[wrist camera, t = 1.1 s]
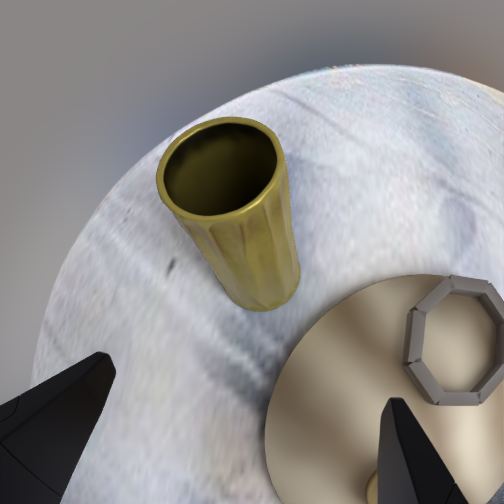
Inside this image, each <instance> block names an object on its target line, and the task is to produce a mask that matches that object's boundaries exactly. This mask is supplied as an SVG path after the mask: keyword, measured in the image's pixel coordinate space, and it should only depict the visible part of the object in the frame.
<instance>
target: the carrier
mask: <svg viewBox="0 0 504 504" xmlns="http://www.w3.org/2000/svg"><path fill="white" fill-rule="evenodd" d="M390 397H401V398H403V399H404V400H405V402H406V403H407V405H408V406H409V408H410V409H411V411H412V413H413V414H414V416H415V417H416V419H417V420H418V422H419V423H420V425H421V427H422V428H423V430H424V431H425V433H426V434H427V436H428V438H429V439H430V441H431V442H432V444H433V446H434V447H435V449H436V450H437V452H438V454H439V455H440V457H441V458H442V460H443V462H444V463H445V465H446V467H447V468H448V470H449V472H450V473H451V475H452V477H453V478H454V480H455V483H457V485H458V486H459V488H460V490H461V491H462V493H463V495H464V496H465V498H466V499H467V501H468V503H469V504H486V503H487V502H488V501H489V500H490V499H491V498H492V497H493V495H494V494H495V493H496V492H497V490H498V489H499V488H500V487H501V485H502V484H503V483H504V301H503V299H502V298H501V296H500V295H499V294H498V292H497V291H496V289H495V288H494V286H493V285H492V283H489V284H488V281H487V280H481V279H474V278H467V277H461V276H454V275H450V276H449V277H448V276H447V277H444V276H438V275H425V274H422V275H407V276H401V277H396V278H392V279H387V280H384V281H382V282H379V283H376V284H373V285H370V286H368V287H366V288H364V289H362V290H360V291H358V292H356V293H354V294H352V295H351V296H349V297H348V298H346V299H344V300H343V301H341V302H340V303H338V304H337V305H335V306H334V307H333V308H332V309H331V310H329V311H328V312H327V313H326V314H325V315H323V316H322V317H321V318H320V319H319V320H318V321H317V322H316V323H315V324H314V325H313V326H312V327H311V328H310V330H309V331H308V332H307V333H306V334H305V335H304V336H303V338H302V339H301V340H300V342H299V343H298V344H297V346H296V347H295V348H294V350H293V351H292V353H291V355H290V356H289V358H288V360H287V362H286V363H285V365H284V367H283V368H282V371H281V373H280V375H279V377H278V380H277V382H276V384H275V387H274V389H273V393H272V396H271V400H270V403H269V406H268V411H267V418H266V424H265V454H266V462H267V467H268V471H269V474H270V478H271V481H272V484H273V486H274V488H275V490H276V492H277V495H278V497H279V499H280V500H281V502H282V503H283V504H377V496H378V489H377V459H378V447H379V434H380V419H381V414H382V411H383V409H384V407H385V405H386V403H387V401H388V399H389V398H390Z"/></svg>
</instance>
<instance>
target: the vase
mask: <svg viewBox="0 0 504 504" xmlns="http://www.w3.org/2000/svg"><path fill="white" fill-rule="evenodd" d="M156 184H157V189H158V193H159V195H160V198H161V200H162V201H163V203H164V204H165V205H166V206H167V207H168V208H169V209H170V210H171V211H172V213H173V214H174V216H175V217H176V219H177V221H178V222H179V223H180V225H181V226H182V227H183V229H184V230H185V231H186V232H187V233H188V234H189V236H190V237H191V238H192V239H193V241H194V242H195V243H196V245H197V246H198V248H199V249H200V251H201V252H202V254H203V255H204V257H205V258H206V260H207V261H208V263H209V264H210V266H211V268H212V269H213V271H214V272H215V274H216V276H217V277H218V279H219V280H220V281H221V283H222V284H223V286H224V288H225V290H226V292H227V294H228V296H229V297H230V298H231V299H232V300H233V301H234V302H235V303H236V304H237V305H239V306H241V307H242V308H244V309H247V310H251V311H269V310H272V309H275V308H277V307H279V306H281V305H283V304H284V303H286V302H287V301H288V300H289V299H290V298H291V297H292V295H293V294H294V292H295V291H296V289H297V287H298V284H299V281H300V274H301V270H300V264H299V261H298V257H297V249H296V245H295V240H294V234H293V228H292V218H291V205H290V190H289V178H288V169H287V163H286V160H285V156H284V152H283V150H282V147H281V145H280V142H279V140H278V138H277V136H276V135H275V133H274V132H273V131H272V130H271V129H269V128H268V127H267V126H265V125H263V124H262V123H260V122H258V121H255V120H252V119H248V118H241V117H221V118H216V119H212V120H209V121H205V122H203V123H200V124H197V125H195V126H193V127H192V128H190V129H188V130H186V131H185V132H184V133H183V134H181V135H180V136H179V137H177V138H176V139H175V140H174V141H173V142H172V143H171V144H170V145H169V147H168V148H167V149H166V151H165V153H164V154H163V156H162V158H161V160H160V162H159V165H158V169H157V173H156Z"/></svg>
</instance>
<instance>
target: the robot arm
mask: <svg viewBox="0 0 504 504" xmlns="http://www.w3.org/2000/svg"><path fill="white" fill-rule="evenodd" d="M115 376H116V369H115V367H114V364H113V362H112V359H111V357H110V355H109V354H107V353H104V352H100V351H99V352H96V353H94V354H92V355H91V356H89V357H87V358H85V359H83V360H82V361H80V362H78V363H76V364H75V365H73V366H71V367H69V368H68V369H66V370H64V371H62V372H60V373H59V374H57V375H55V376H53V377H51V378H50V379H48V380H46V381H44V382H43V383H41V384H39V385H37V386H35V387H34V388H32V389H30V390H28V391H26V392H25V393H23V394H21V395H20V396H17V397H16V398H14V399H12V400H10V401H8V402H6V403H4V404H2V405H0V504H60V502H61V499H62V497H63V495H64V492H65V490H66V488H67V485H68V483H69V481H70V479H71V476H72V474H73V472H74V470H75V468H76V465H77V463H78V461H79V459H80V457H81V454H82V452H83V450H84V448H85V446H86V444H87V442H88V440H89V438H90V435H91V433H92V431H93V429H94V427H95V425H96V423H97V421H98V419H99V417H100V415H101V413H102V410H103V408H104V406H105V403H106V400H107V397H108V395H109V392H110V389H111V387H112V384H113V381H114V379H115ZM377 489H378V496H377V504H469V503H468V501H467V499H466V498H465V496H464V495H463V493H462V491H461V490H460V488H459V486H458V485H457V483H455V480H454V478H453V477H452V475H451V473H450V472H449V470H448V468H447V467H446V465H445V463H444V462H443V460H442V458H441V457H440V455H439V454H438V452H437V450H436V449H435V447H434V446H433V444H432V442H431V441H430V439H429V438H428V436H427V434H426V433H425V431H424V430H423V428H422V427H421V425H420V423H419V422H418V420H417V419H416V417H415V416H414V414H413V413H412V411H411V409H410V408H409V406H408V405H407V403H406V402H405V400H404V399H403V398H401V397H390V398H389V399H388V401H387V403H386V405H385V407H384V409H383V411H382V414H381V419H380V434H379V447H378V459H377Z"/></svg>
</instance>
